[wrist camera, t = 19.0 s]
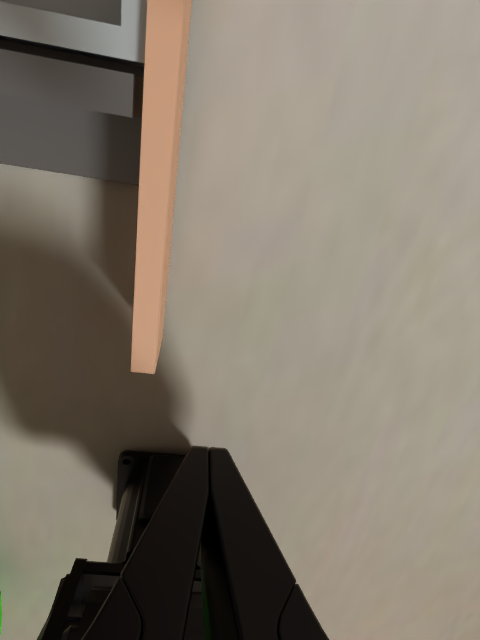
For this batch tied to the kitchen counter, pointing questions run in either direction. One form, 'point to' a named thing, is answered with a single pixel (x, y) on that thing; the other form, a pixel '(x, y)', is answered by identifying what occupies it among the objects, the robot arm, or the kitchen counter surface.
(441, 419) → the kitchen counter surface
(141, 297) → the tray
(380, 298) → the kitchen counter surface
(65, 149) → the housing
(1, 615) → the plastic bottle
